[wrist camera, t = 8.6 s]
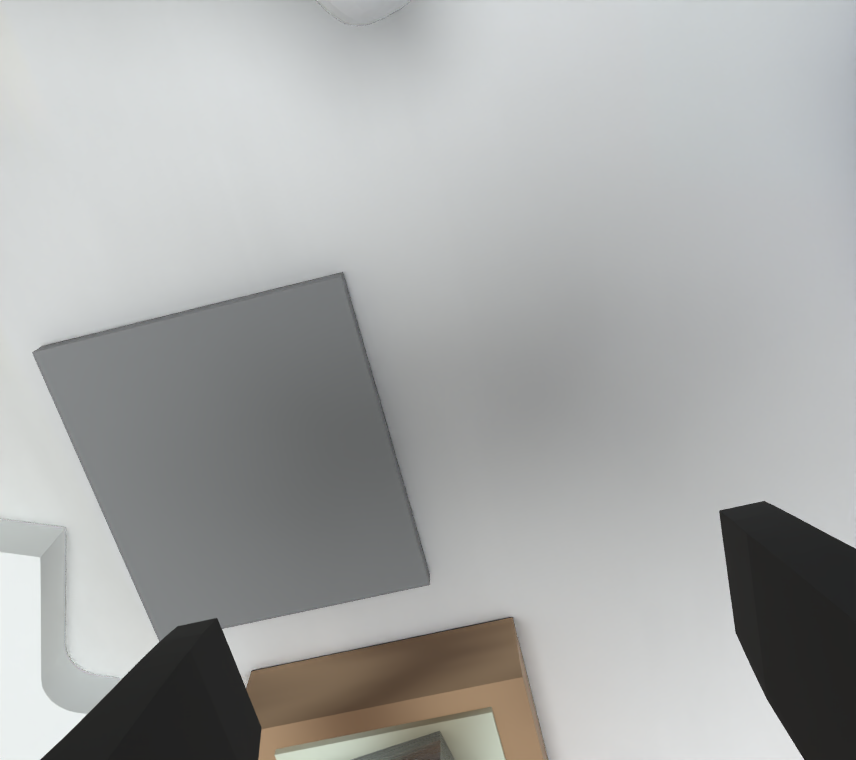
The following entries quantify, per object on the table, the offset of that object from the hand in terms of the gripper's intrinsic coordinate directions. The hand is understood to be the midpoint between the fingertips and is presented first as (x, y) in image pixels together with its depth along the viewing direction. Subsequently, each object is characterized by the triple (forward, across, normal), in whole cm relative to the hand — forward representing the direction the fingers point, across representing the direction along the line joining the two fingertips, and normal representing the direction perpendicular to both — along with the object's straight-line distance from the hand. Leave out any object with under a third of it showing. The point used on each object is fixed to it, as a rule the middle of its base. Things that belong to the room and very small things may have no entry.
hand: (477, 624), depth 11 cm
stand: (+10, +4, +12) cm, 16 cm away
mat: (+10, +6, +1) cm, 12 cm away
